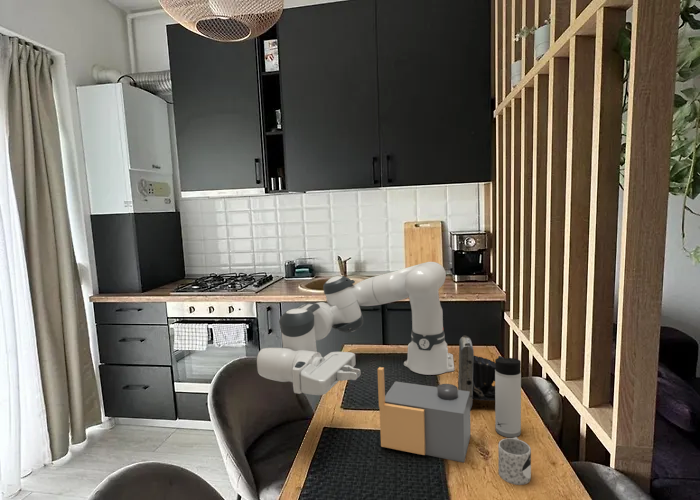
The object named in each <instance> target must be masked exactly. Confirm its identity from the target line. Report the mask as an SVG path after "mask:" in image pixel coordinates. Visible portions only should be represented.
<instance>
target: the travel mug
mask: <svg viewBox="0 0 700 500" xmlns="http://www.w3.org/2000/svg"><path fill="white" fill-rule="evenodd" d="M494 362H495V366H496V367H495V382H494V386H495V401H494V402H495V405H494V411H495V412H494V413H495V414H494V415H495V419H494V420H495V422H494V423H495V424H494V426H495V431H496V433H497V434H498V435H500V436H502V437H505V438H514V437H517V438H518V437H519V436H520V435H521V433H522V414H521V413H522V371H521V368H522V365H521V364H522V363H521V362H522V361H521V360H520V359H517V358H514V357H508V358H507V357H505V358H504V357H503V358H498V357H497V358H496V359H494Z"/></svg>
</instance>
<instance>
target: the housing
mask: <svg viewBox="0 0 700 500" xmlns="http://www.w3.org/2000/svg"><path fill="white" fill-rule="evenodd" d="M385 403H387V404H393V405H399V406H406V407H412V408H418V409H424V412H425V455H424V456H430V457H435V458H440V459H444V460H445V459H446V460H450V461H454V462H459V463H465V461H466V457H467V452H468V449H469V443H470V439H471V408H470V391H462V390H458V386H456V385H455V384H453V383H452V384H451V383H440V384H438V385H437V386H432V385H423V384H416V383H411V382H410V383H409V382H402V381H394V382H393V384H392V385H391V387H390V388H389V390H388V391H387V392H386V393H385Z"/></svg>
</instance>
